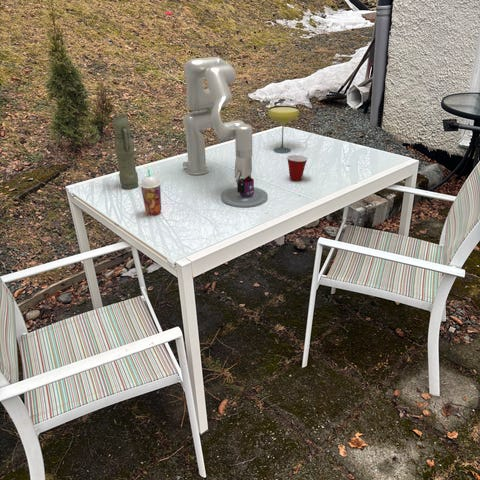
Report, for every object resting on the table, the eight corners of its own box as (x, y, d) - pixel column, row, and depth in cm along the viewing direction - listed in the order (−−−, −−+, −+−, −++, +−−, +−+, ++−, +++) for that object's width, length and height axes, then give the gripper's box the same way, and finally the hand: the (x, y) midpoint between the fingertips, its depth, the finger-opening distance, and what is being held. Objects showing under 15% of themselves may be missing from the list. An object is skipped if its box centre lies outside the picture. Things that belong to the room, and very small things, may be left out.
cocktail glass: (265, 146, 276) (266, 106, 264) (293, 145, 278) (295, 105, 265) (270, 155, 260) (271, 113, 248) (299, 154, 262) (302, 112, 250)
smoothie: (145, 209, 198) (139, 167, 188) (163, 208, 198) (159, 166, 189) (143, 217, 191) (137, 174, 181) (162, 216, 191) (157, 173, 181)
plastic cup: (310, 178, 228) (312, 156, 222) (298, 184, 221) (299, 162, 215) (293, 173, 234) (295, 152, 228) (281, 179, 227) (282, 157, 221)
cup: (245, 197, 202) (245, 184, 199) (232, 190, 209) (232, 177, 206) (256, 194, 206) (256, 180, 202) (244, 187, 213) (244, 174, 209)
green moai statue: (132, 180, 228) (123, 112, 211) (143, 187, 220) (134, 117, 203) (116, 184, 224) (105, 115, 206) (126, 191, 215) (116, 120, 198)
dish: (212, 202, 203) (212, 200, 203) (233, 185, 221) (233, 183, 220) (256, 210, 195) (256, 208, 194) (274, 192, 212) (274, 190, 212)
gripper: (244, 146, 205) (244, 182, 214) (227, 157, 192) (228, 195, 200) (259, 148, 203) (258, 184, 211) (243, 159, 189) (243, 197, 198)
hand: (244, 189), depth 206 cm, fingers closed on cup, 6 cm apart
